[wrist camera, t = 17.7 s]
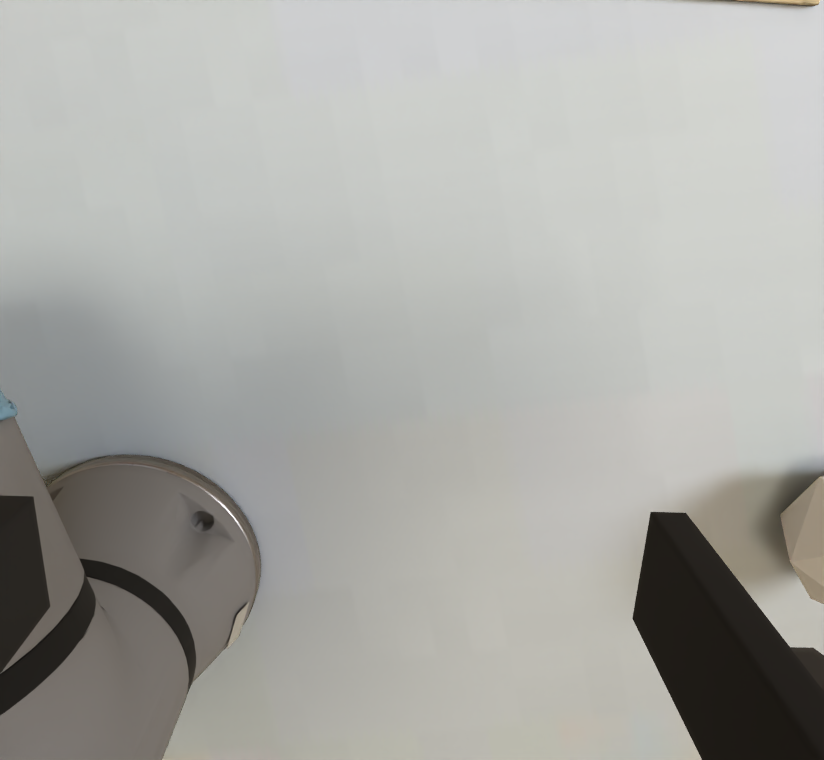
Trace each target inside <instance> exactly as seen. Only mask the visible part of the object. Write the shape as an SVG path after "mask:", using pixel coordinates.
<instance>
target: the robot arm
mask: <svg viewBox="0 0 824 760" xmlns="http://www.w3.org/2000/svg"><path fill="white" fill-rule="evenodd" d="M15 415H17V408H16V406H15V404H14V403H13V402H12V401H10V400H8V399H6V398H5V396H4V394H3V393H2V391H1V389H0V760H162V759H163V756H164V754H165V751H166V748H167V746H168V743H169V741H170V738H171V736H172V733H173V730H174V728H175V725H176V723H177V720H178V718H179V715H180V712H181V710H182V707H183V705H184V702H185V699H186V696H187V694H188V691H189V689H190V686H191V684H192V683H193V682H194V680H195V679H196V678H197V677H198V676H199V675H200V674H201V673H202V672H203V671H204V670H205V669H206V668H207V667H208V666H209V665H210V664H211V663H212V662H213V661H214V659H215V658H216V657H217V656H218V655H219V654H220V653H221V652H222V651H223V650H224V649H225V648H226V647H227V646H228V647H227V649H228V648H229V647H230V645H231V644H232V643H233V642H234V641H235V640H236V639H237V638H238V637H239V635H240V632H241V629H242V626H243V625H244V623H245V621H246V620H247V618H248V616H249V614H250V611H251V609H252V607H253V603H254V600H255V597H256V594H257V591H258V587H259V583H260V576H261V559H260V552H259V547H258V543H257V540H256V537H255V534H254V532H253V530H252V527H251V525H250V523H249V522H248V520H247V518H246V516H245V515H244V514H243V512H242V511H241V509H240V508H239V507H238V505H237V504H236V503H235V502H234V501H233V499H232V498H231V497H230V496H229V495H228V494H227V493H226V492H225V491H223V490H222V489H221V488H220V487H219V486H217V485H216V484H215V483H213V482H212V481H211V480H209V479H208V478H206V477H205V476H203V475H201V474H199V473H198V472H196V471H194V470H192V469H190V468H187V467H185V466H183V465H180V464H178V463H175V462H172V461H168V460H165V459H161V458H156V457H151V456H143V455H114V456H107V457H102V458H97V459H94V460H90V461H87V462H85V463H82V464H79V465H77V466H75V467H73V468H71V469H69V470H68V471H66V472H65V473H63V474H62V475H60V476H59V477H57V478H56V479H55V480H54V481H53V482H51V483H50V484H49V485H48V486H47V487H46V486H45V483H44V481H43V479H42V477H41V475H40V472H39V470H38V468H37V466H36V464H35V461H34V459H33V457H32V455H31V453H30V450H29V448H28V446H27V444H26V442H25V439H24V437H23V435H22V433H21V431H20V428H19V426H18V424H17V422H16V420H15V417H14V416H15ZM633 620H634V622H635V624H636V626H637V628H638V630H639V632H640V634H641V637H642V639H643V641H644V643H645V645H646V647H647V649H648V651H649V653H650V655H651V657H652V659H653V661H654V663H655V665H656V667H657V669H658V671H659V673H660V675H661V677H662V679H663V681H664V683H665V685H666V687H667V689H668V691H669V693H670V695H671V697H672V699H673V702H674V704H675V706H676V708H677V710H678V712H679V714H680V716H681V718H682V720H683V722H684V724H685V726H686V728H687V730H688V732H689V734H690V736H691V738H692V740H693V742H694V744H695V746H696V748H697V750H698V752H699V754H700V756H701V758H702V760H824V655H822V654H821V653H820V652H818V651H817V650H815V649H814V648H792V647H789V646H788V644H787V643H786V642H785V640H784V639H783V638H782V636H781V635H780V634H779V633H778V631H777V630H776V629H775V627H774V626H773V625H772V624H771V622H770V621H769V620H768V618H767V617H766V616H765V615H764V613H763V612H762V611H761V609H760V608H759V607H758V606H757V604H756V603H755V602H754V600H753V599H752V598H751V596H750V595H749V594H748V593H747V591H746V590H745V589H744V587H743V586H742V585H741V584H740V582H739V581H738V580H737V578H736V577H735V576H734V575H733V573H732V572H731V571H730V569H729V568H728V567H727V565H726V564H725V563H724V562H723V560H722V559H721V558H720V556H719V555H718V554H717V553H716V551H715V550H714V549H713V547H712V546H711V545H710V544H709V542H708V541H707V540H706V538H705V537H704V536H703V535H702V533H701V532H700V531H699V529H698V528H697V527H696V525H695V524H694V523H693V522H692V520H691V519H690V518H689V516H688V515H687V514H686V513H669V512H651V514H650V520H649V526H648V531H647V537H646V543H645V549H644V555H643V561H642V567H641V572H640V578H639V584H638V590H637V596H636V602H635V608H634V613H633Z"/></svg>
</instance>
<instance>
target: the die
mask: <svg viewBox="0 0 824 760" xmlns="http://www.w3.org/2000/svg"><path fill="white" fill-rule="evenodd" d="M780 517H781V522H782V527H783V531H784V536H785V541H786V546H787V550H788V555H789V560H790V563H791V565H792V566H793V568H794V570H795V572H796V573H797V575H798V577H799V579H800V580H801V582H802V584H803V586H804V587H805V589H806V591H807V593H808V594H809V596H810V598H811V599H813V600H816V601H818V602H820V603H823V604H824V476H820V477H819V478H818V479H817V480H816V481H815V482H814V483H813V484H811V485H810V486H809V487H808V488H807V489H806V490H805V491H804V492H803V493H802V494H801V495H800V496H799V497H798V498H797V499H796V500H795V501H794V502H793V503H792V504H791V505H790V506H789V507H788V508H787V509H786V510H784V511H783V512H782V513H781V514H780Z"/></svg>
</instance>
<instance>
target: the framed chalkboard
mask: <svg viewBox="0 0 824 760" xmlns="http://www.w3.org/2000/svg"><path fill="white" fill-rule="evenodd" d="M734 1H749V2H764V3H779V4H793V5H808V6H815V5H818V4H819V1H820V0H734Z"/></svg>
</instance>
